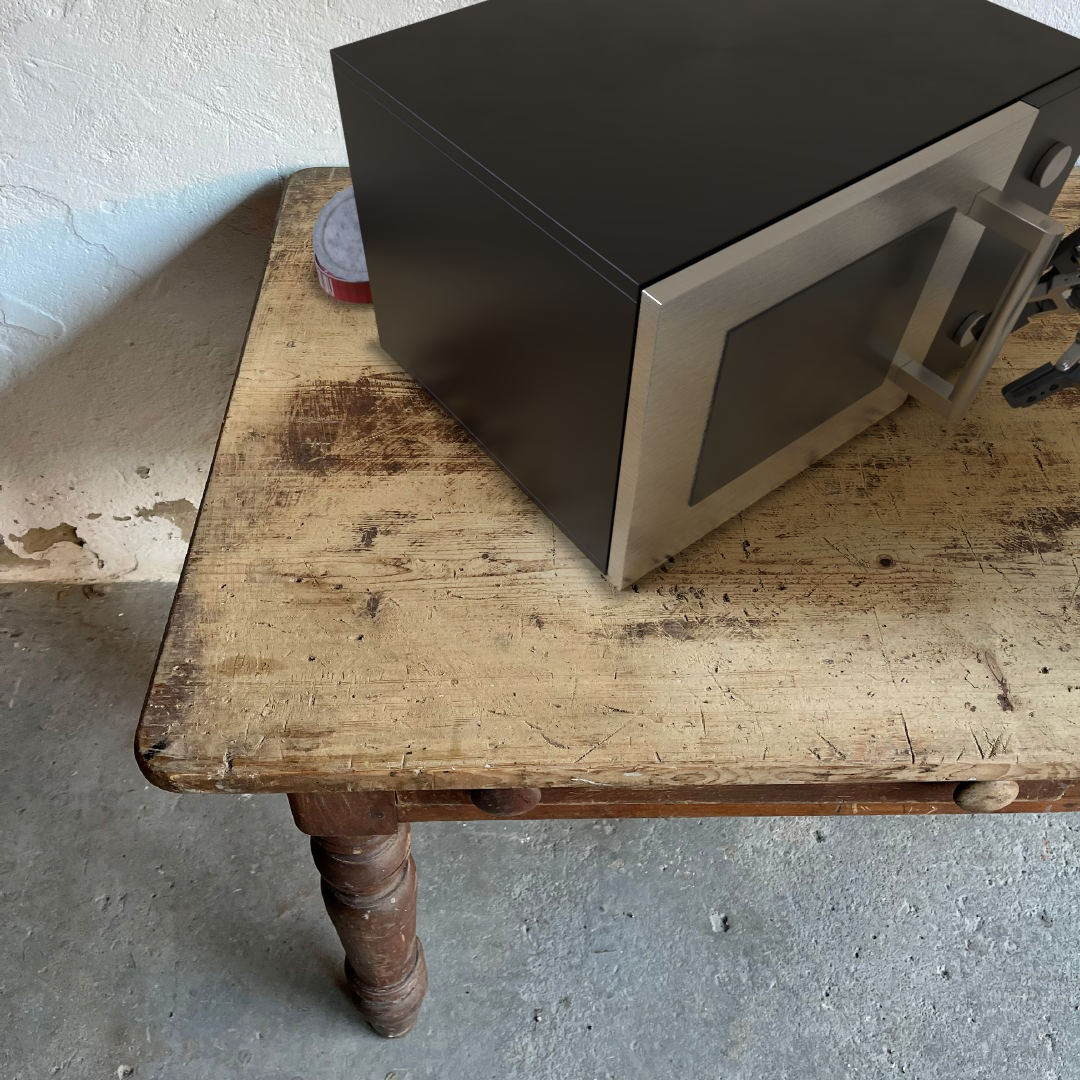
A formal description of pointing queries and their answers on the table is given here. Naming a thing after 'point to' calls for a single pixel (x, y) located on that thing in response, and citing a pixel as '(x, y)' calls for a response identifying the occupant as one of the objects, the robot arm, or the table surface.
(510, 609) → the table surface
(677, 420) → the microwave door
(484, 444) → the microwave
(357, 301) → the canned food
